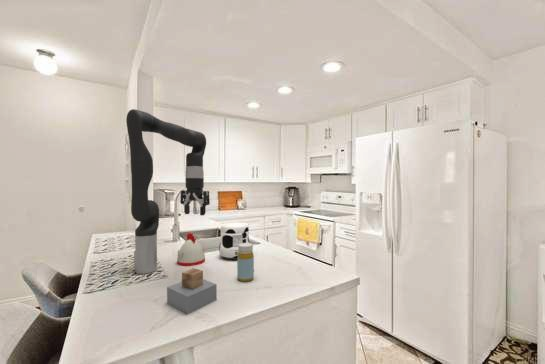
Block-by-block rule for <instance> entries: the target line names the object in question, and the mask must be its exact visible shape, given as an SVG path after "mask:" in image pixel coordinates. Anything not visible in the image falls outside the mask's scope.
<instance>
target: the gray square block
mask: <svg viewBox="0 0 545 364" xmlns="http://www.w3.org/2000/svg"><path fill="white" fill-rule="evenodd" d="M217 288H218V287H217V283H214V282H212V281H209V280H206V279H204V278H203V285H201V286H199V287H197V288H195V289H193V290H192V289H188V288H184V287H182V281H180V282H177V283H174V284H172V285H170V286H167V287H166V303H167V304H168V305H169V306H171V307H173V308H175V309H177V310H179V311H180V312H183V314H186V315H189V314H191V313H193V312H195V311H197V310H200V309H202V308H203V307H205V306H208V305H210V304H212V303H214V302H216V301H217V291H218V290H217Z"/></svg>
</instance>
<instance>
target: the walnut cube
mask: <svg viewBox="0 0 545 364" xmlns="http://www.w3.org/2000/svg"><path fill="white" fill-rule="evenodd" d="M203 279H204V270H203V269H202V270H201V269H198V268H190V269H187V270H185V271H182V272H181V282H182V287H184V288H188V289H192V290H193V289H195V288H197V287H199V286H201V285H203Z"/></svg>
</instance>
